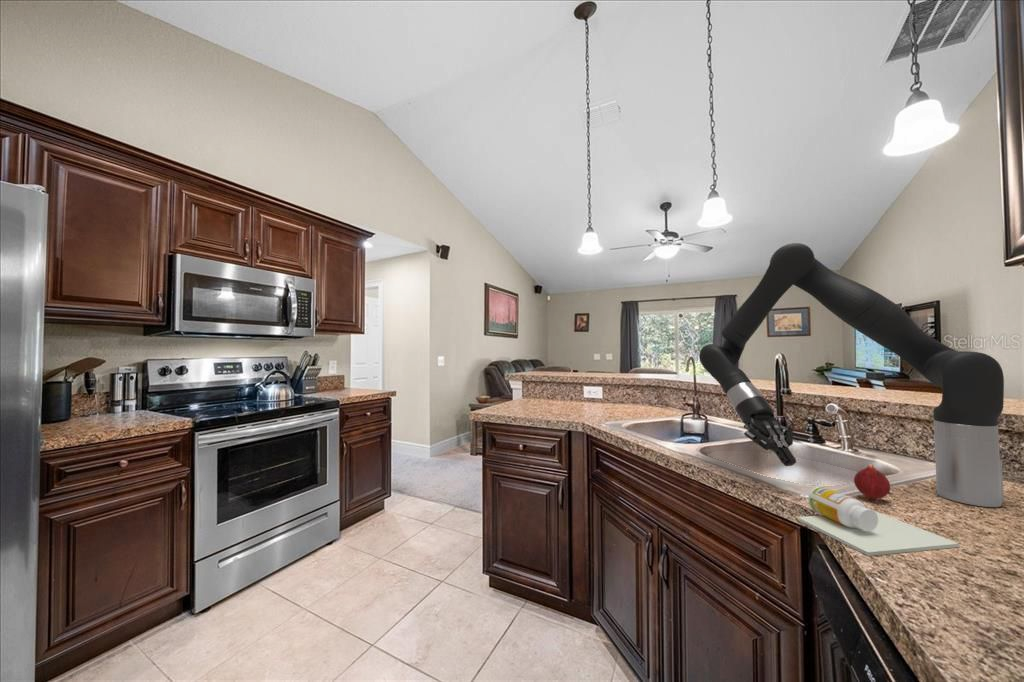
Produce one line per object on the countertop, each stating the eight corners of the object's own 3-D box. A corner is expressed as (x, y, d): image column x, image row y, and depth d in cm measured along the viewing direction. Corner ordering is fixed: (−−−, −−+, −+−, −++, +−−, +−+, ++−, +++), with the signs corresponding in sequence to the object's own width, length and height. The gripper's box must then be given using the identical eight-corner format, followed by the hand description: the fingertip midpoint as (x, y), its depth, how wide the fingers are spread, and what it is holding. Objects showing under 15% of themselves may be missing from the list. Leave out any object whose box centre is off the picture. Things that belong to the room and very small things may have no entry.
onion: (898, 506, 80) (896, 469, 80) (867, 504, 81) (865, 467, 81) (877, 496, 85) (876, 461, 85) (848, 494, 86) (847, 460, 87)
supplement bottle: (824, 516, 76) (875, 540, 66) (803, 505, 76) (850, 528, 66) (834, 492, 76) (886, 512, 67) (813, 481, 76) (862, 500, 66)
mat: (875, 513, 76) (875, 511, 76) (958, 547, 63) (958, 543, 63) (797, 520, 74) (797, 517, 74) (868, 555, 61) (868, 552, 61)
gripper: (735, 395, 94) (777, 457, 82) (779, 394, 97) (826, 455, 85) (719, 411, 99) (757, 473, 87) (761, 411, 102) (803, 470, 90)
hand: (791, 464), depth 86 cm, fingers closed
